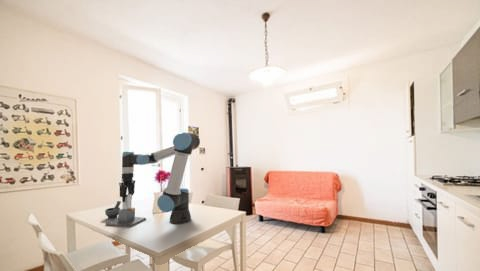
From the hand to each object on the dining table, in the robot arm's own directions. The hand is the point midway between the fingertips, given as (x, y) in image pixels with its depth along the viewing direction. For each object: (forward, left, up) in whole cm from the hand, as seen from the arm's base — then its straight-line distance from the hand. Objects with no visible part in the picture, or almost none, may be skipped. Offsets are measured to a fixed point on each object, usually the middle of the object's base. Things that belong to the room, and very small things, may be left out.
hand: (127, 205), depth 153 cm
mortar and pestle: (+18, -7, -12) cm, 23 cm away
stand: (0, 0, -12) cm, 12 cm away
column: (0, 0, -9) cm, 9 cm away
